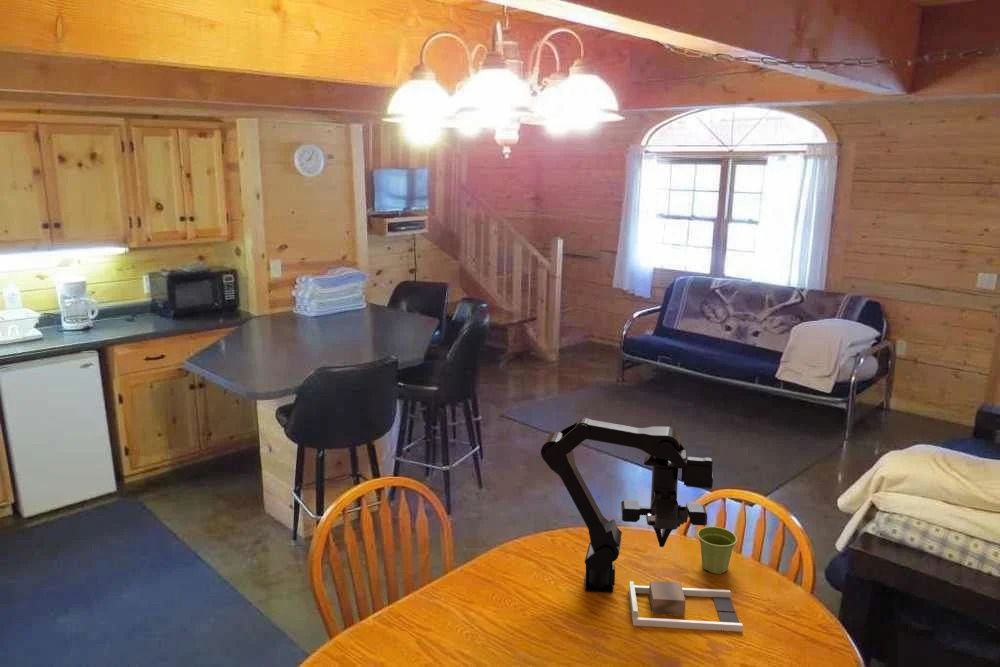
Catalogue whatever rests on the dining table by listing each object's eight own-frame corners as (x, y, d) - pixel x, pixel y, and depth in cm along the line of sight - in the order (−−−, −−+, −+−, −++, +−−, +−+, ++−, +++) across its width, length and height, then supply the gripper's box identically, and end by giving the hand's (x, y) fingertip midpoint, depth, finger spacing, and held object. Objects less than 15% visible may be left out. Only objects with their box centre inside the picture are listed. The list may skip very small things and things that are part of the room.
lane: (633, 625, 150) (633, 613, 150) (628, 590, 163) (629, 579, 162) (742, 631, 148) (743, 619, 147) (729, 595, 160) (730, 584, 160)
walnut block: (652, 614, 154) (653, 598, 153) (649, 596, 161) (649, 581, 160) (684, 616, 154) (685, 600, 153) (679, 597, 160) (680, 582, 159)
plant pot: (730, 558, 176) (732, 527, 174) (738, 579, 167) (741, 546, 165) (692, 556, 177) (694, 525, 175) (699, 577, 168) (701, 544, 166)
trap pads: (722, 627, 149) (722, 626, 149) (712, 597, 160) (712, 596, 160) (741, 628, 149) (741, 627, 149) (730, 598, 159) (730, 597, 159)
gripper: (624, 497, 149) (622, 562, 153) (713, 501, 147) (709, 567, 151) (621, 475, 160) (619, 537, 163) (704, 479, 158) (700, 541, 161)
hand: (661, 546), depth 159 cm, fingers closed
